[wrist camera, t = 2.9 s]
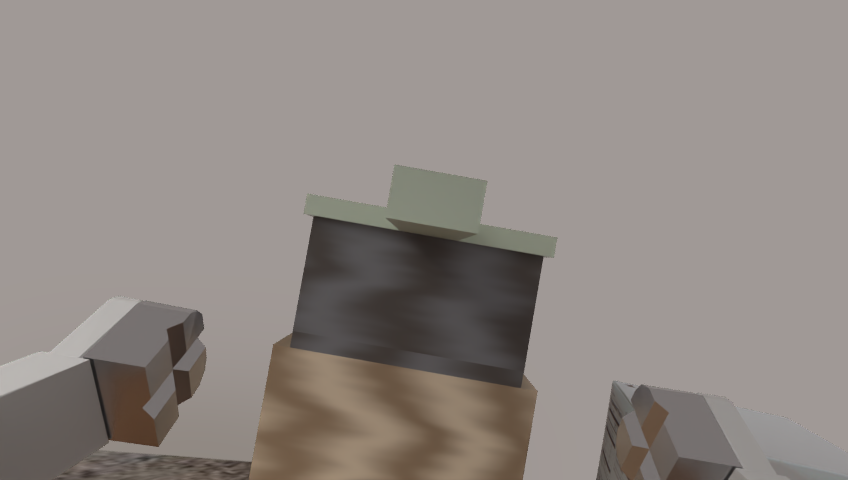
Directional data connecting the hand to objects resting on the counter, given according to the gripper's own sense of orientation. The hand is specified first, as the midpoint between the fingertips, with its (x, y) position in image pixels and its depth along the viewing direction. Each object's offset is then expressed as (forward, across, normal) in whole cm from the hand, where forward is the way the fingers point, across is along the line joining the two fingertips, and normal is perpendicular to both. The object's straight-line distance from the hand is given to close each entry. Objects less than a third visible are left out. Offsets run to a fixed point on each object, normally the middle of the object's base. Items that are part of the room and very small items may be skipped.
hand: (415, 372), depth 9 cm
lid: (+21, 0, +8) cm, 22 cm away
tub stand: (+13, 0, +33) cm, 36 cm away
